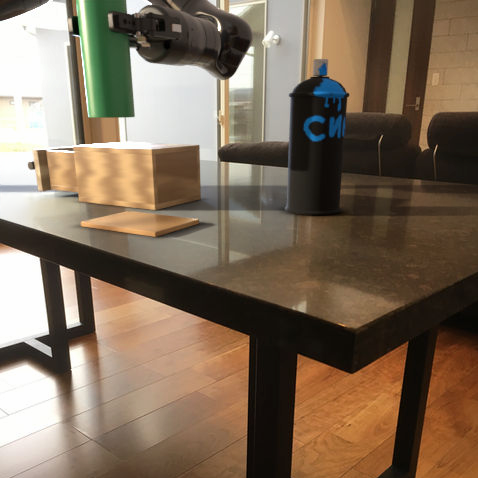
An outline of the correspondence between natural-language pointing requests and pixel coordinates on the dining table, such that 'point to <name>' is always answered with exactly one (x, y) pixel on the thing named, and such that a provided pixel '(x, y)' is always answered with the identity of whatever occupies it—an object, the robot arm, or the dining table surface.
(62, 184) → the drawer
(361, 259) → the dining table surface
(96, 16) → the green can
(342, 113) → the aerosol can
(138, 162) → the cabinet
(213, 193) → the dining table surface
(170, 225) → the cork mat
